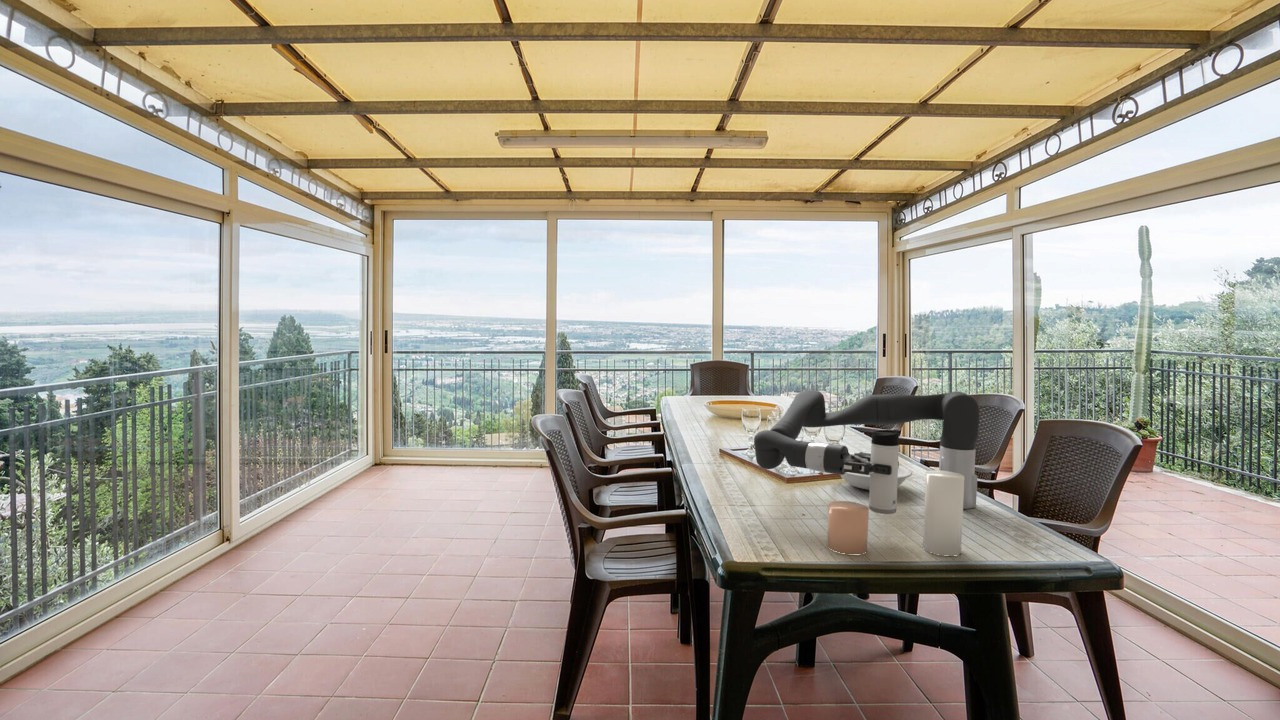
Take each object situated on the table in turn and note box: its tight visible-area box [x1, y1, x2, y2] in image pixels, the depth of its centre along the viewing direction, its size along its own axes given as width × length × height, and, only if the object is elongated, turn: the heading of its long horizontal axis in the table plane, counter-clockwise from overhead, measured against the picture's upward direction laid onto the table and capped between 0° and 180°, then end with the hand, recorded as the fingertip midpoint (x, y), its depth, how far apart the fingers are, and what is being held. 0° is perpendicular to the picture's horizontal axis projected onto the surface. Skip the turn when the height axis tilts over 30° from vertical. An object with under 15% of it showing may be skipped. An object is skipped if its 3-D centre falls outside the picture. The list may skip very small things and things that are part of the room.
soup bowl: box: [840, 464, 913, 491], centre depth 191 cm, size 24×24×7 cm
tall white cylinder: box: [922, 469, 964, 556], centre depth 138 cm, size 8×8×18 cm
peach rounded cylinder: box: [826, 500, 870, 554], centre depth 138 cm, size 9×9×10 cm
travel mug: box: [868, 429, 901, 515], centre depth 144 cm, size 6×7×20 cm
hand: (894, 467), depth 143 cm, fingers closed on travel mug, 6 cm apart
